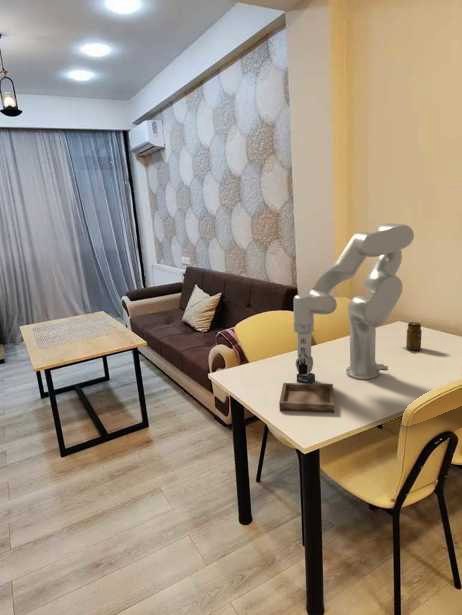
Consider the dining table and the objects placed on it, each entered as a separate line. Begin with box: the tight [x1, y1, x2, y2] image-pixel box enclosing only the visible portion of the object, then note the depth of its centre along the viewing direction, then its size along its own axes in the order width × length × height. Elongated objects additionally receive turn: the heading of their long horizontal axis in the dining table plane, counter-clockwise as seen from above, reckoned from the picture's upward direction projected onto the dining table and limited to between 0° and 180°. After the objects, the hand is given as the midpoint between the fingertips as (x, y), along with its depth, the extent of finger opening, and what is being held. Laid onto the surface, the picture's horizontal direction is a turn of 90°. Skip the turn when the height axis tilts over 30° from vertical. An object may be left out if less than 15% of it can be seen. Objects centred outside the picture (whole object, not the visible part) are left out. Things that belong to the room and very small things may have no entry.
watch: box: [295, 355, 316, 384], centre depth 159 cm, size 6×8×11 cm
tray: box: [278, 382, 335, 414], centre depth 144 cm, size 18×16×3 cm
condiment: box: [401, 321, 428, 354], centre depth 183 cm, size 7×8×12 cm
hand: (303, 369), depth 158 cm, fingers open, 9 cm apart
